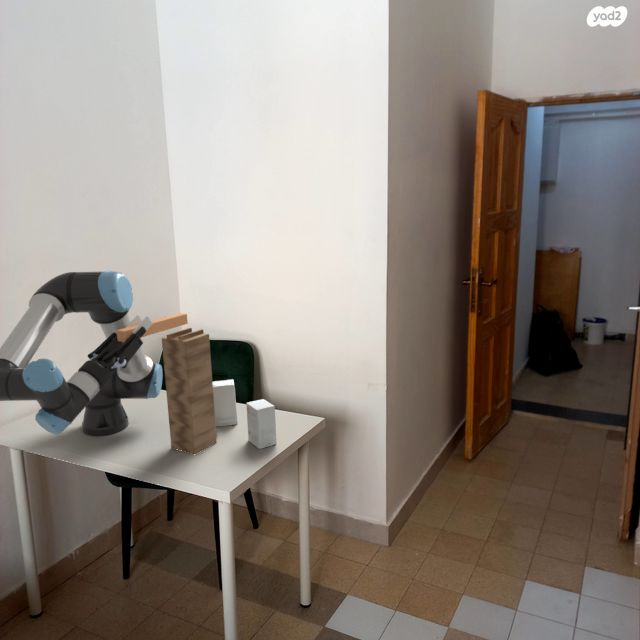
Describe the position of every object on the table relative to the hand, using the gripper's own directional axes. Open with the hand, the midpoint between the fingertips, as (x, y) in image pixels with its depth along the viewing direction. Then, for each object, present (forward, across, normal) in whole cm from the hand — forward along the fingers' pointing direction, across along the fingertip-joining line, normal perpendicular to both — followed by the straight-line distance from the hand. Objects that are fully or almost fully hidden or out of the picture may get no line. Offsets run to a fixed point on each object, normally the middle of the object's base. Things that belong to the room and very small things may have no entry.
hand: (144, 319), depth 167 cm
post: (-9, 0, -46) cm, 47 cm away
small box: (+2, +18, -52) cm, 55 cm away
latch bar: (+1, 0, -5) cm, 5 cm away
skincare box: (+8, -3, -56) cm, 56 cm away
